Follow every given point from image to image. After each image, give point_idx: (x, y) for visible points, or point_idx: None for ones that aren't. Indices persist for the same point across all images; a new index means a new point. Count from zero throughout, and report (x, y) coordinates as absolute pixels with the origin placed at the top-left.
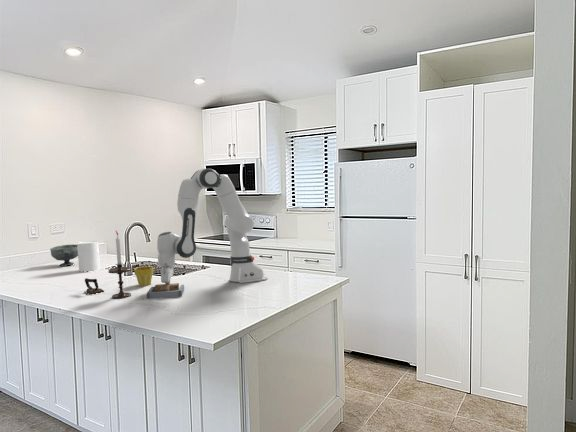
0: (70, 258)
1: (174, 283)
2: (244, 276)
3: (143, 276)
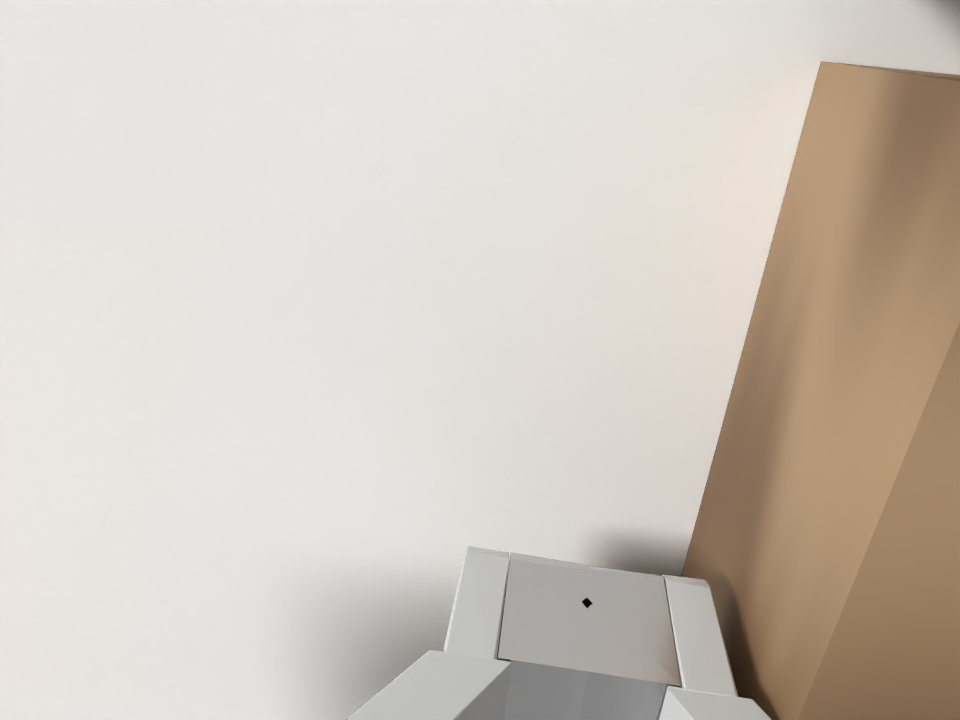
0: None
1: (906, 451)
2: None
3: None
